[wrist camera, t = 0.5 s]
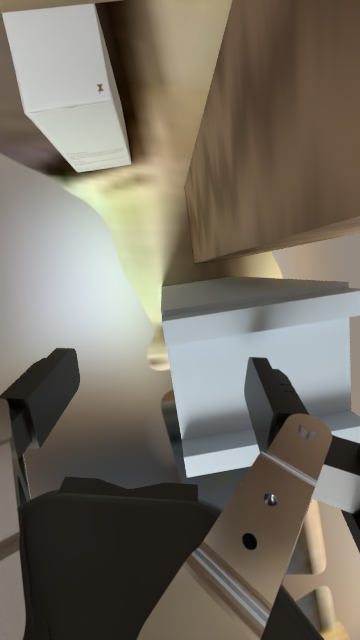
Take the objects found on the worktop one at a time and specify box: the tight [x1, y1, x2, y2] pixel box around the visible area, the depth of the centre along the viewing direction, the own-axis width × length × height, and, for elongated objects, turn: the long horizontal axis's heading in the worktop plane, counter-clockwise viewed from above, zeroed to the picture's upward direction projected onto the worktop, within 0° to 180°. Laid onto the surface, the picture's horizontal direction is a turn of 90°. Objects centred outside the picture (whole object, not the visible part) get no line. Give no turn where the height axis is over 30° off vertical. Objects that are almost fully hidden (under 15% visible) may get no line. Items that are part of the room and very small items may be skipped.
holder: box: [161, 276, 360, 477], centre depth 25 cm, size 9×10×25 cm
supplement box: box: [2, 3, 132, 172], centre depth 26 cm, size 7×7×13 cm
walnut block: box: [184, 0, 360, 264], centre depth 20 cm, size 10×7×32 cm
